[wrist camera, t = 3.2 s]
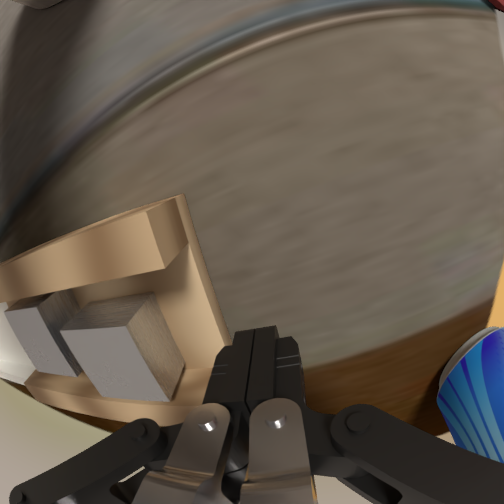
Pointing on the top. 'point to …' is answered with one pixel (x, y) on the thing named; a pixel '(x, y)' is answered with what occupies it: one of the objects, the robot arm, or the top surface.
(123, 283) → the slot board
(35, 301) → the chip
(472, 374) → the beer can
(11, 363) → the tray
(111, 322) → the chip
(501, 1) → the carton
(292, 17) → the top surface
